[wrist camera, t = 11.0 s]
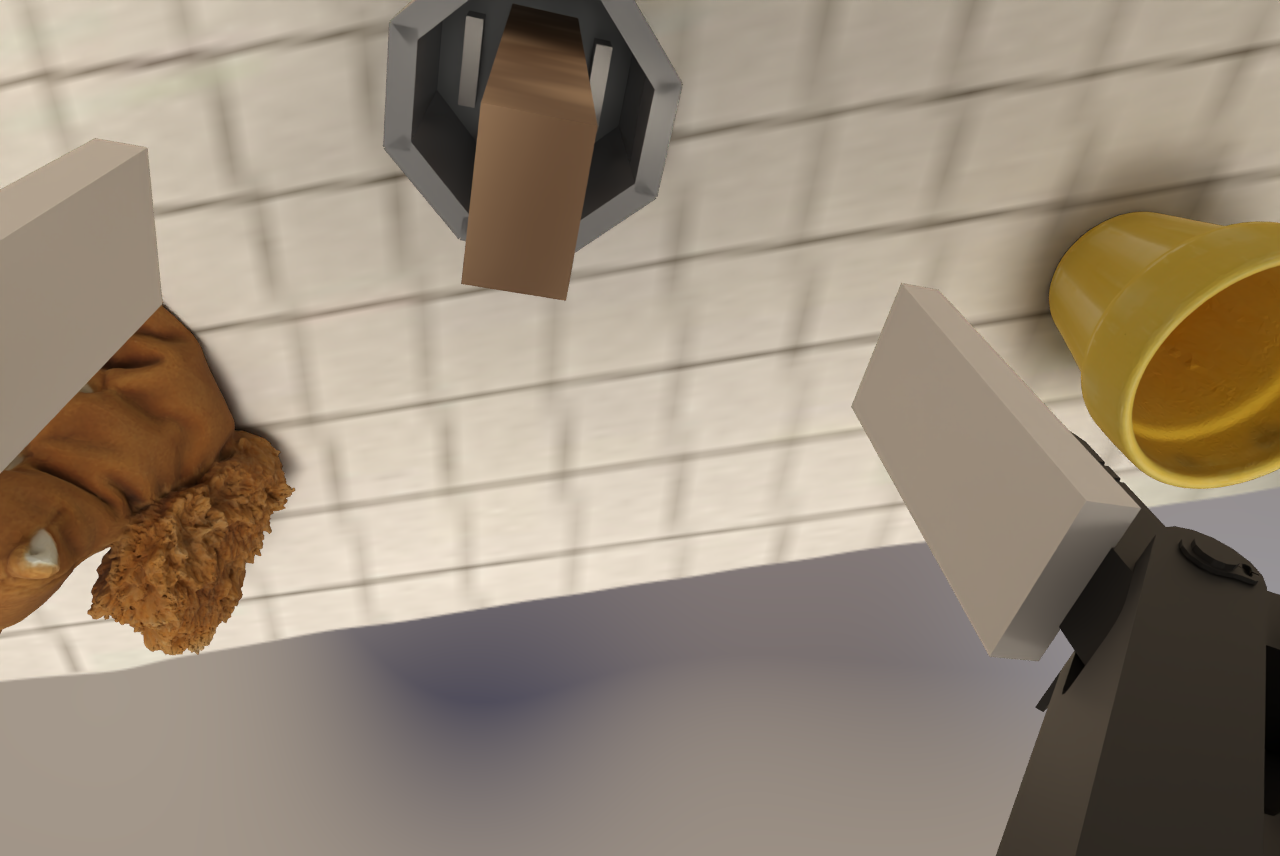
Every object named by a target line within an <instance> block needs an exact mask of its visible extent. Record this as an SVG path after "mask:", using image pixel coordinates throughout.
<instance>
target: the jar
mask: <svg viewBox="0 0 1280 856" xmlns="http://www.w3.org/2000/svg"><path fill="white" fill-rule="evenodd" d="M512 4H517V5H522V6H526V7H531V8H535V9H540V10H544V11H548V12H553V13H557V14H562V15H566V16H571V17H575V18H578V20H579V26H580V31H581V37H582V42H583V48H584V53H585V59H586V64H587V70H588V75H589V81H590V86H591V92H592V97H593V103H594V109H595V114H596V120H597V125H598V127H597V132H596V138H595V143H594V149H593V154H592V160H591V165H590V171H589V176H588V182H587V187H586V193H585V198H584V204H583V209H582V215H581V220H580V226H579V231H578V237H577V242H576V248H575V252H577V251H578V250H580V249H581V248H583V247H584V246H586V245H587V244H589V243H590V242H592V241H593V240H595V239H596V238H598V237H599V236H601V235H602V234H604V233H605V232H607V231H608V230H610V229H611V228H613V227H614V226H616V225H617V224H619V223H620V222H622V221H623V220H625V219H626V218H628V217H629V216H631V215H632V214H634V213H635V212H637V211H638V210H640V209H641V208H643V207H644V206H646V205H647V204H649V203H650V202H652V201H653V200H655V199H656V197H657V196H658V191H659V187H660V182H661V178H662V174H663V169H664V165H665V160H666V156H667V152H668V147H669V143H670V138H671V134H672V129H673V125H674V121H675V116H676V112H677V107H678V103H679V99H680V94H681V90H682V85H683V84H682V81H681V79H680V78H679V76H678V74H677V73H676V71H675V69H674V67H673V66H672V64H671V62H670V61H669V59H668V57H667V55H666V54H665V52H664V50H663V49H662V47H661V45H660V43H659V42H658V40H657V38H656V37H655V35H654V33H653V31H652V30H651V28H650V26H649V25H648V23H647V21H646V19H645V18H644V16H643V14H642V13H641V11H640V9H639V7H638V6H637V4H636V2H635V1H634V0H412V1H411V2H410V3H409V4H408V5H406V6H405V7H404V8H403V9H402V10H401V11H400V12H399V13H398V14H397V15H396V16H395V17H394V18H392V19H391V20H390V22H389V37H388V58H387V79H386V100H385V121H384V141H383V147H385V148H384V149H385V151H386V152H387V153H388V154H389V155H390V157H391V158H392V159H393V160H394V162H395V163H396V164H397V165H398V166H399V168H400V169H401V170H402V171H403V172H404V174H405V175H406V176H407V177H408V178H409V180H410V181H411V182H412V183H413V185H414V186H415V187H416V188H417V189H418V191H419V192H420V193H421V194H422V195H423V197H424V198H425V199H426V200H427V201H428V203H429V204H430V205H431V206H432V208H433V209H434V210H435V211H436V212H437V214H438V215H439V216H440V217H441V218H442V220H443V221H444V222H445V223H446V224H447V226H448V227H449V228H450V229H451V231H452V232H453V233H454V234H455V235H456V237H457V238H458V239H459V238H460V240H463V241H466V236H467V227H468V217H469V208H470V199H471V190H472V180H473V171H474V162H475V153H476V144H477V134H478V125H479V116H480V107H481V101H482V98H483V95H484V91H485V88H486V85H487V82H488V79H489V76H490V73H491V70H492V66H493V63H494V60H495V57H496V54H497V51H498V48H499V44H500V41H501V38H502V35H503V32H504V29H505V26H506V23H507V19H508V16H509V13H510V10H511V7H512Z"/></svg>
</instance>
